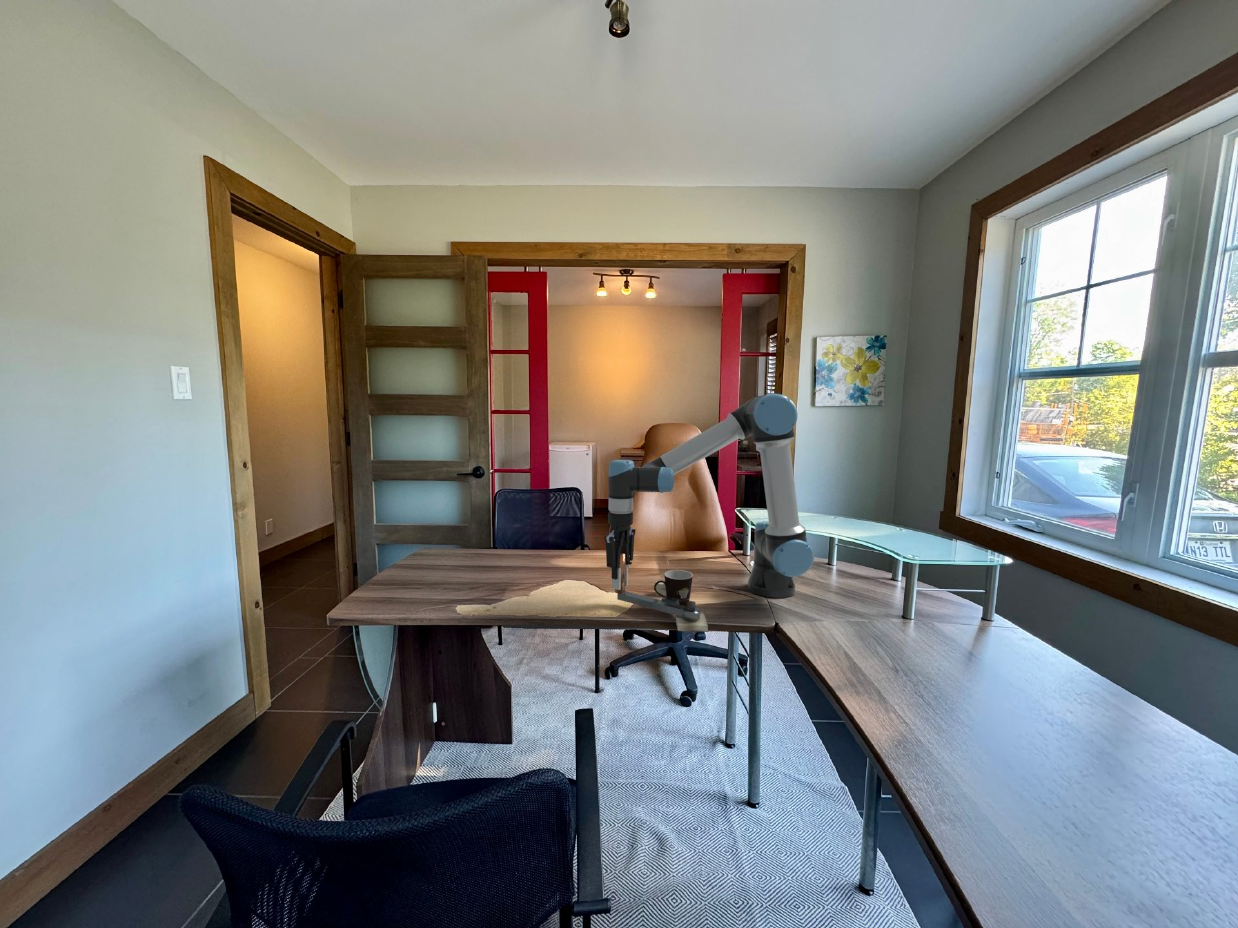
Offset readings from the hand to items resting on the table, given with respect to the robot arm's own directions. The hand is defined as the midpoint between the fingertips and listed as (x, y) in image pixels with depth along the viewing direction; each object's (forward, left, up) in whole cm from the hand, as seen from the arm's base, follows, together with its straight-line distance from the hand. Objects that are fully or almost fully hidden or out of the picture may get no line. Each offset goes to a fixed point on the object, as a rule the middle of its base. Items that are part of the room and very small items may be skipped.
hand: (620, 586), depth 143 cm
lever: (-11, +6, -4) cm, 13 cm away
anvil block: (-16, -9, -6) cm, 19 cm away
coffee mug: (-16, 0, -6) cm, 17 cm away
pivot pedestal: (-20, +13, -6) cm, 25 cm away
